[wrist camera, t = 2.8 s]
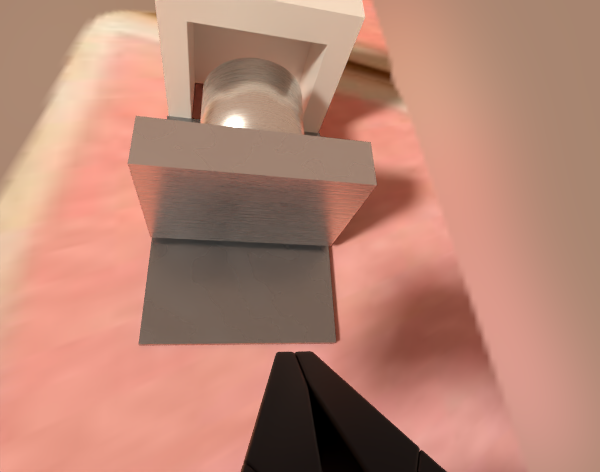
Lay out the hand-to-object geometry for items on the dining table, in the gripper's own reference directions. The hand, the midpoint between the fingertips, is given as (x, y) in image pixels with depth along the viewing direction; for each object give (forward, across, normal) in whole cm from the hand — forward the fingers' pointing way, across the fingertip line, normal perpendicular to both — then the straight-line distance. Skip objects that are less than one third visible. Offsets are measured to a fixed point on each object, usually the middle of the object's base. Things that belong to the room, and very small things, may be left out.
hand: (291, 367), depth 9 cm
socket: (+24, 0, -5) cm, 25 cm away
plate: (+17, 0, +2) cm, 17 cm away
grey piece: (+18, 0, 0) cm, 18 cm away
